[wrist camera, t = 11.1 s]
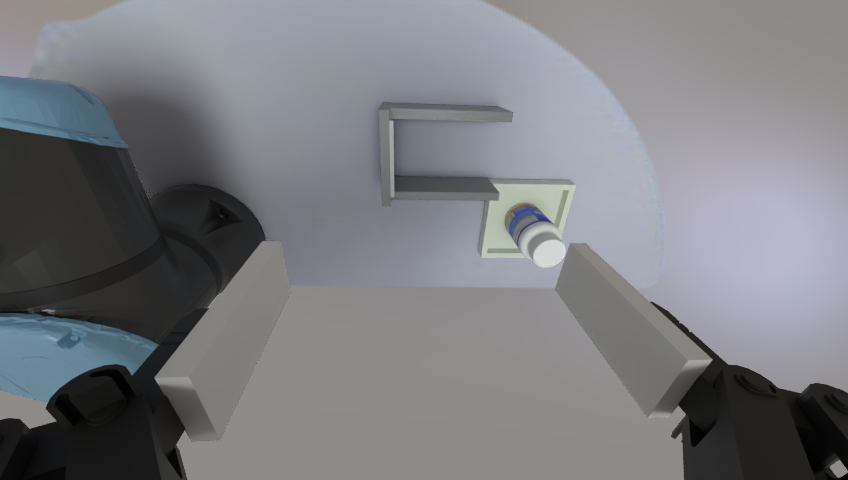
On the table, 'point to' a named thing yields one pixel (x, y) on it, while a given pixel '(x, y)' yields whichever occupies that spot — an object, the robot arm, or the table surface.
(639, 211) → the table surface
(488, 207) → the tray
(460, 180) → the bay
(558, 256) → the pill bottle
